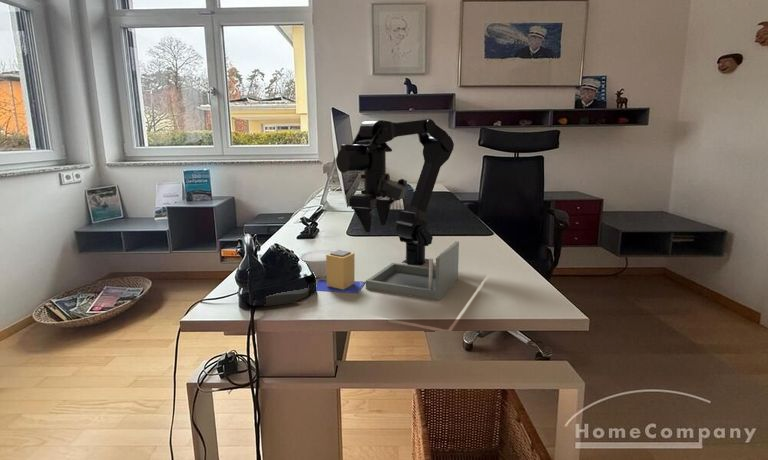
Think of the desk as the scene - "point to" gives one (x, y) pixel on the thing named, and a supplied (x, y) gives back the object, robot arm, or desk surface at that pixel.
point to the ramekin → (316, 261)
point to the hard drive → (351, 289)
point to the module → (340, 269)
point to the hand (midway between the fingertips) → (375, 228)
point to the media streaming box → (286, 297)
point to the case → (419, 276)
